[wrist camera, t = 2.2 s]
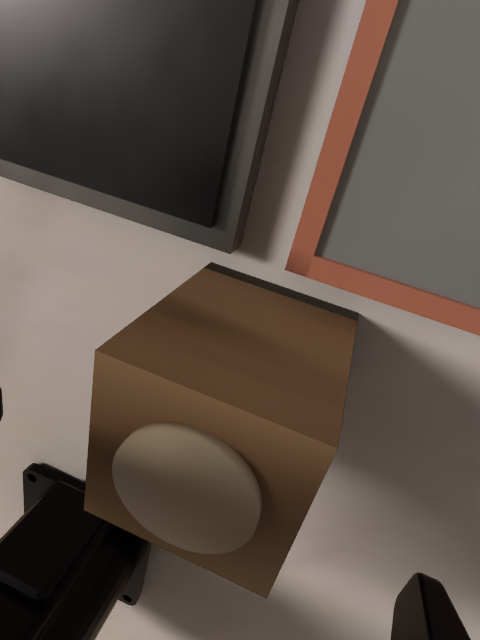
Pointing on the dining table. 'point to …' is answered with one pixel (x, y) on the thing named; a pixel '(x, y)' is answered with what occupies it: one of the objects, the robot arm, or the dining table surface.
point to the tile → (402, 166)
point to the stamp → (219, 421)
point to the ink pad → (143, 106)
